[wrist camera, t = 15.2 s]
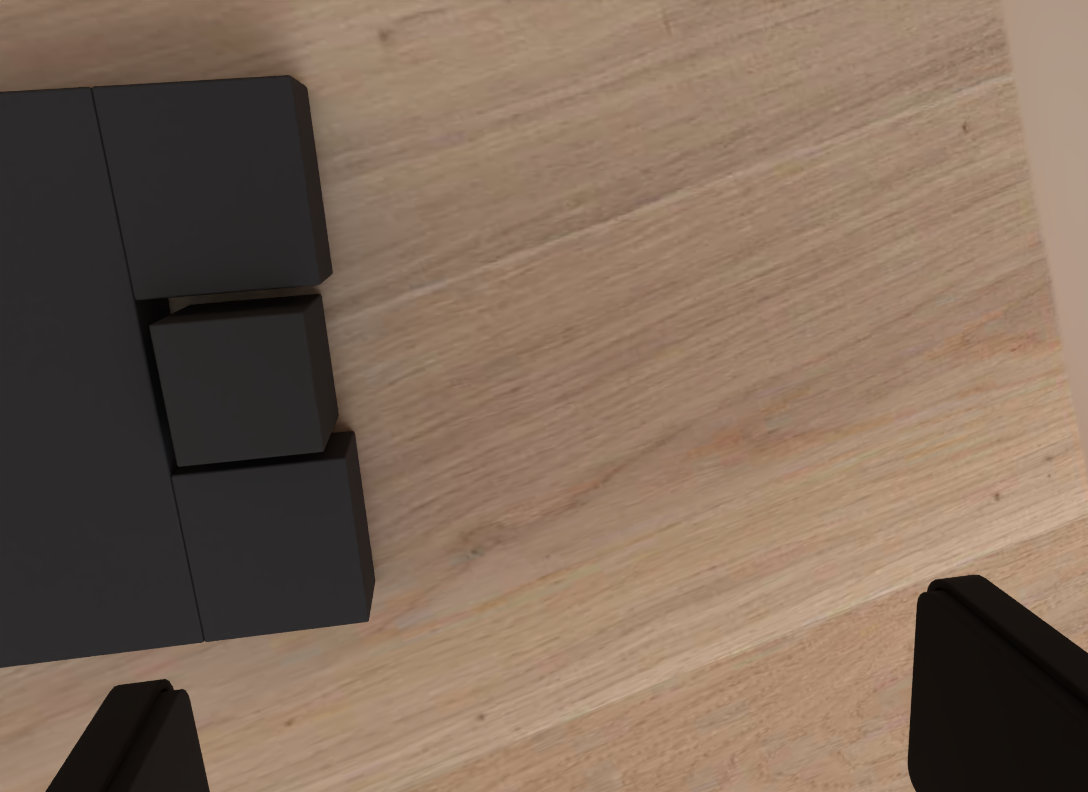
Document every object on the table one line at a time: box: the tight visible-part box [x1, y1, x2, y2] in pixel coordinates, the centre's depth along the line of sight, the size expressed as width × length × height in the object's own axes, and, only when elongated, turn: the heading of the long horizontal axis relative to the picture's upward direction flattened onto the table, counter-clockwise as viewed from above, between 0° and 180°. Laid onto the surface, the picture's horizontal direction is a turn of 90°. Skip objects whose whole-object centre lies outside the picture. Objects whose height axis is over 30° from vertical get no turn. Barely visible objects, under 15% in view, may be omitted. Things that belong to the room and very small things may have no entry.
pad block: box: [149, 294, 339, 467], centre depth 27 cm, size 4×4×4 cm
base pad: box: [0, 75, 375, 668], centre depth 27 cm, size 18×18×3 cm
